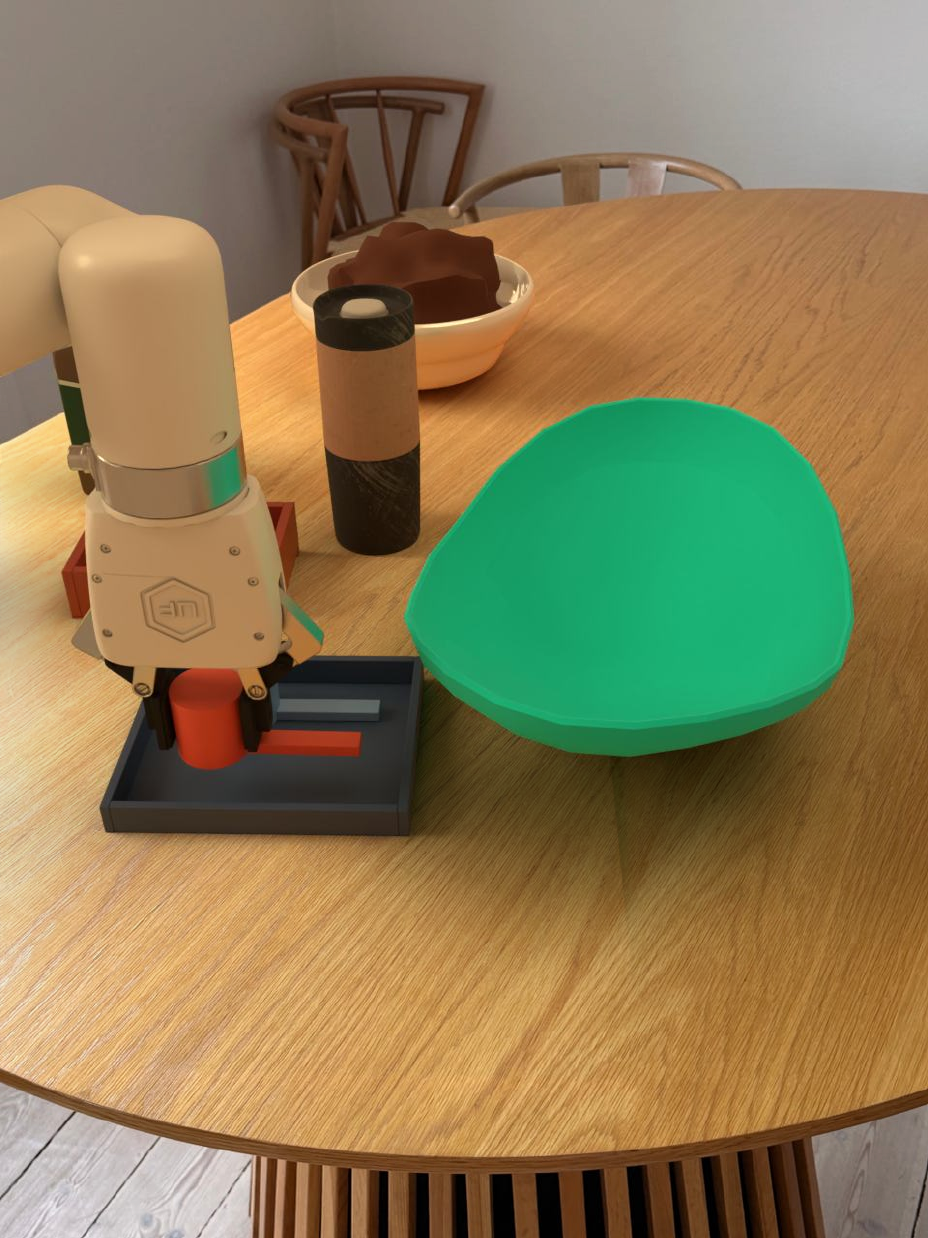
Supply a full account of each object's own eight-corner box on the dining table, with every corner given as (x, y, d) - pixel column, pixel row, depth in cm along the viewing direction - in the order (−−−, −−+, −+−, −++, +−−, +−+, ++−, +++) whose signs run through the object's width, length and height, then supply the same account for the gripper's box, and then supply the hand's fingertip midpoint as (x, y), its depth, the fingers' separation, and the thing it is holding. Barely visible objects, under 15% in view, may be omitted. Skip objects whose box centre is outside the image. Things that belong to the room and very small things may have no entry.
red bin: (72, 622, 91) (60, 571, 89) (111, 548, 100) (101, 500, 97) (279, 623, 91) (272, 573, 88) (299, 549, 99) (294, 501, 97)
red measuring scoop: (170, 768, 72) (160, 710, 70) (187, 721, 76) (177, 663, 73) (357, 774, 72) (353, 715, 69) (364, 725, 75) (361, 668, 73)
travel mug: (435, 516, 103) (428, 287, 92) (406, 563, 97) (395, 323, 86) (351, 505, 105) (334, 279, 94) (317, 549, 99) (295, 313, 88)
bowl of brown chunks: (327, 436, 116) (314, 282, 108) (277, 342, 136) (263, 205, 127) (569, 399, 123) (575, 250, 114) (488, 314, 142) (488, 182, 134)
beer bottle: (174, 460, 113) (130, 196, 99) (154, 501, 106) (105, 225, 93) (90, 460, 113) (35, 197, 99) (66, 501, 106) (4, 226, 93)
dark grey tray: (105, 836, 73) (98, 807, 71) (165, 681, 85) (160, 653, 84) (409, 840, 72) (407, 811, 71) (424, 683, 84) (423, 655, 83)
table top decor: (508, 524, 102) (509, 377, 95) (848, 573, 95) (878, 419, 88) (324, 852, 71) (304, 672, 64) (808, 962, 64) (849, 774, 57)
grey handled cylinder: (208, 734, 80) (199, 680, 77) (221, 693, 83) (213, 639, 81) (377, 736, 79) (373, 682, 77) (383, 694, 83) (379, 641, 80)
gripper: (-15, 501, 60) (56, 775, 70) (325, 507, 60) (345, 782, 70) (33, 432, 66) (92, 694, 77) (343, 437, 66) (359, 700, 76)
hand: (213, 733), depth 73 cm, fingers closed on red measuring scoop, 4 cm apart
